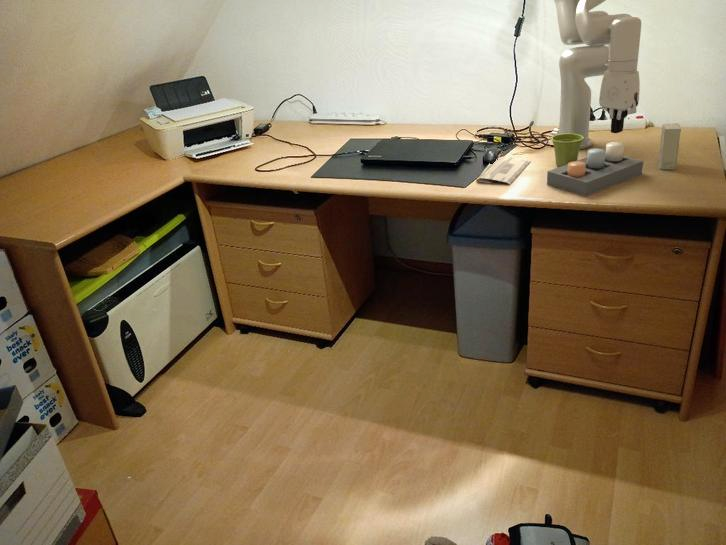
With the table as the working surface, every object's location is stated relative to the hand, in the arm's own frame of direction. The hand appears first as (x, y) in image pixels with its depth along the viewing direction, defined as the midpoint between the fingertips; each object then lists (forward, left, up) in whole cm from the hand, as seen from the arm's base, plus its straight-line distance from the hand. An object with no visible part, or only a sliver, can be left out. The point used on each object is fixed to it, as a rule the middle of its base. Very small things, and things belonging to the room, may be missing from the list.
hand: (616, 131), depth 175 cm
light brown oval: (0, -16, -10) cm, 19 cm away
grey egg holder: (0, -8, -12) cm, 15 cm away
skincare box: (+8, +14, -13) cm, 20 cm away
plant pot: (-15, -3, -13) cm, 20 cm away
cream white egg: (0, 0, -8) cm, 8 cm away
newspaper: (-25, -21, -13) cm, 35 cm away
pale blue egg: (0, -8, -8) cm, 11 cm away
